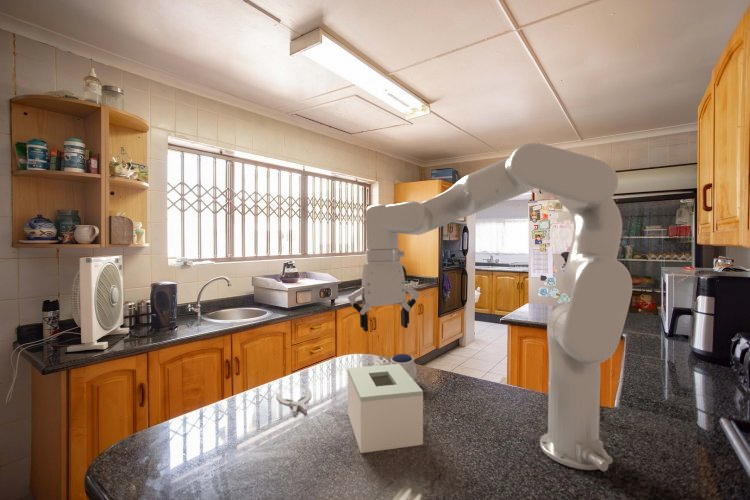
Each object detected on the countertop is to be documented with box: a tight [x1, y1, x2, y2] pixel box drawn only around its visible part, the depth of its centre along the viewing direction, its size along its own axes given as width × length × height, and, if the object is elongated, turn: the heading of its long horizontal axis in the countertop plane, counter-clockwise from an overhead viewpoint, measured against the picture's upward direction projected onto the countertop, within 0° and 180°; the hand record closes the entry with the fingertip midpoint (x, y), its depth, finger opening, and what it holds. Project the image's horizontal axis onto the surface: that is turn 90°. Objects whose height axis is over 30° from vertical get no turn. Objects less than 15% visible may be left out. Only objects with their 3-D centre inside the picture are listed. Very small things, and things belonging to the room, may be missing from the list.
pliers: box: [276, 388, 312, 416], centre depth 101 cm, size 10×2×15 cm
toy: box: [366, 353, 418, 381], centre depth 111 cm, size 18×9×20 cm
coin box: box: [347, 364, 424, 454], centre depth 87 cm, size 18×14×12 cm
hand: (385, 328), depth 86 cm, fingers open, 9 cm apart
